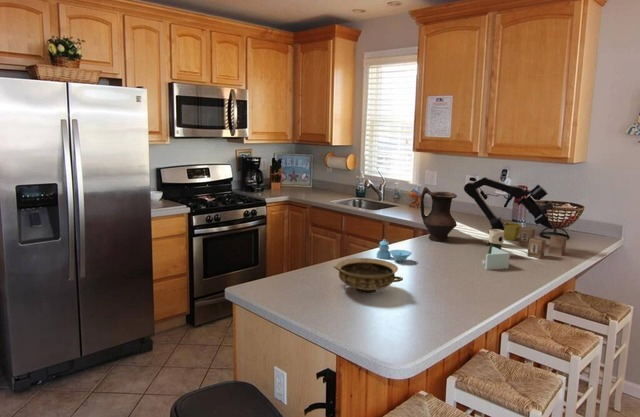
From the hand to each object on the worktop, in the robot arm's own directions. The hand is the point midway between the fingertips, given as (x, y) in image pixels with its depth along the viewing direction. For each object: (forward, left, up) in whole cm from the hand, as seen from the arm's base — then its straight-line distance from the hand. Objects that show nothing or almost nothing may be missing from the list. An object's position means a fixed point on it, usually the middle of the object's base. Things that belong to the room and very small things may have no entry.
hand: (552, 228), depth 254 cm
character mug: (-29, +17, -13) cm, 36 cm away
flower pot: (+13, +27, -13) cm, 33 cm away
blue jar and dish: (-76, +46, -13) cm, 90 cm away
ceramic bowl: (-120, +27, -13) cm, 124 cm away
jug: (-22, +55, -13) cm, 61 cm away
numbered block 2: (-14, +2, -13) cm, 19 cm away
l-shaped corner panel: (-48, +11, -13) cm, 51 cm away
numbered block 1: (+8, +16, -13) cm, 22 cm away
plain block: (+1, -3, -13) cm, 13 cm away
